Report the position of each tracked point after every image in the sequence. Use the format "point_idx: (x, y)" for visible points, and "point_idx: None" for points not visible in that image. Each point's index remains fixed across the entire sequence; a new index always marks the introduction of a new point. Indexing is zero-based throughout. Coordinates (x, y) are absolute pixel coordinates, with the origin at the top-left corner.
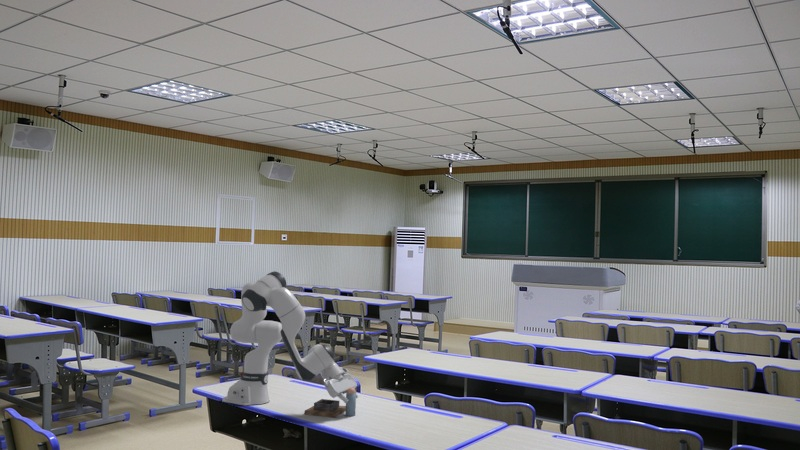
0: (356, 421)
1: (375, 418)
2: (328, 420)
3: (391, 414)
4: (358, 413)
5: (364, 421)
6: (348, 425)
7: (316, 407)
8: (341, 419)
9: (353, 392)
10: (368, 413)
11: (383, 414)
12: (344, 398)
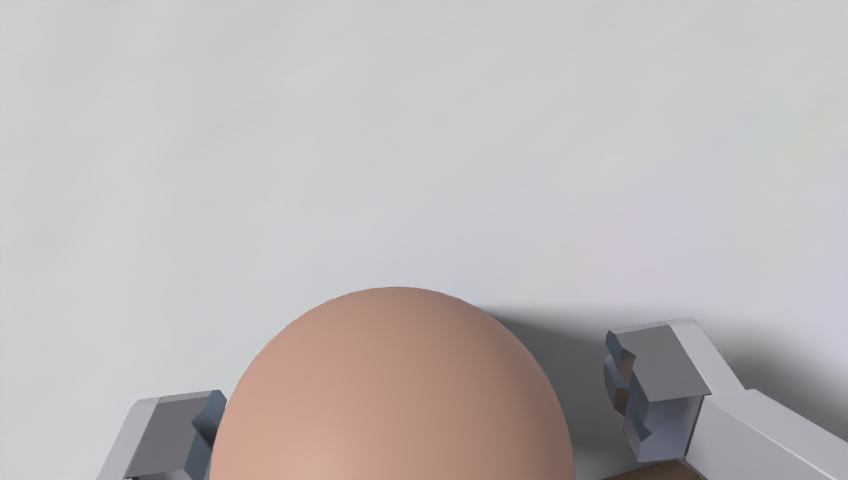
0: (614, 133)
1: (350, 41)
2: None
3: (85, 5)
4: None
5: (548, 60)
6: (830, 99)
7: None
8: None
9: (466, 306)
10: (199, 243)
11: (136, 74)
12: (756, 408)
